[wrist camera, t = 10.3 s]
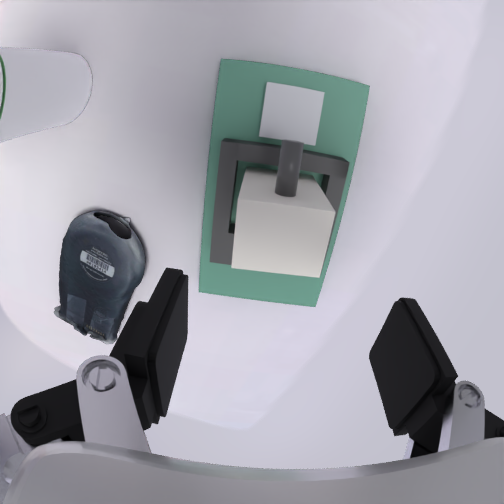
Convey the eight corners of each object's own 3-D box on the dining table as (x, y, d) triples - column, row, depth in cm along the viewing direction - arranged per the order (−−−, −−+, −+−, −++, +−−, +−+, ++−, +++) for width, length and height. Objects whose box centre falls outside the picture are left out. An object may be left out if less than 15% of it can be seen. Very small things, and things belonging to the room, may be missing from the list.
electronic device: (132, 325, 34) (161, 235, 26) (110, 356, 30) (128, 269, 21) (75, 286, 34) (85, 189, 25) (49, 313, 29) (46, 214, 21)
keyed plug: (251, 127, 20) (244, 139, 13) (318, 137, 21) (347, 155, 13) (240, 227, 24) (229, 282, 17) (301, 234, 24) (315, 291, 17)
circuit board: (223, 61, 19) (217, 54, 16) (363, 86, 20) (379, 84, 17) (201, 282, 29) (194, 305, 26) (313, 297, 29) (318, 320, 26)
